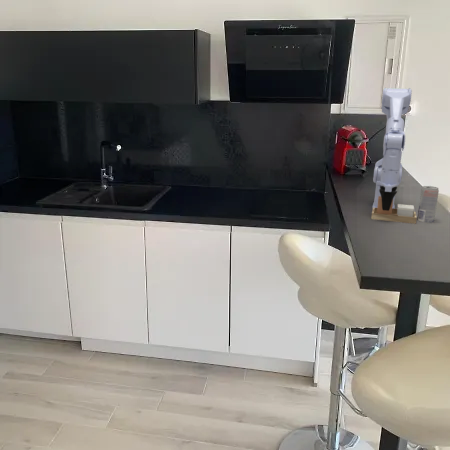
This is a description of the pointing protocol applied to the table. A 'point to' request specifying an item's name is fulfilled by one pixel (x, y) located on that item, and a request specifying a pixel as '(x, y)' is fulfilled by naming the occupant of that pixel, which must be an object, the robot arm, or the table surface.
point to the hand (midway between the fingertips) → (385, 208)
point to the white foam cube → (405, 210)
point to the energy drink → (428, 204)
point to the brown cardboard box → (379, 208)
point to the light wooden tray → (393, 217)
